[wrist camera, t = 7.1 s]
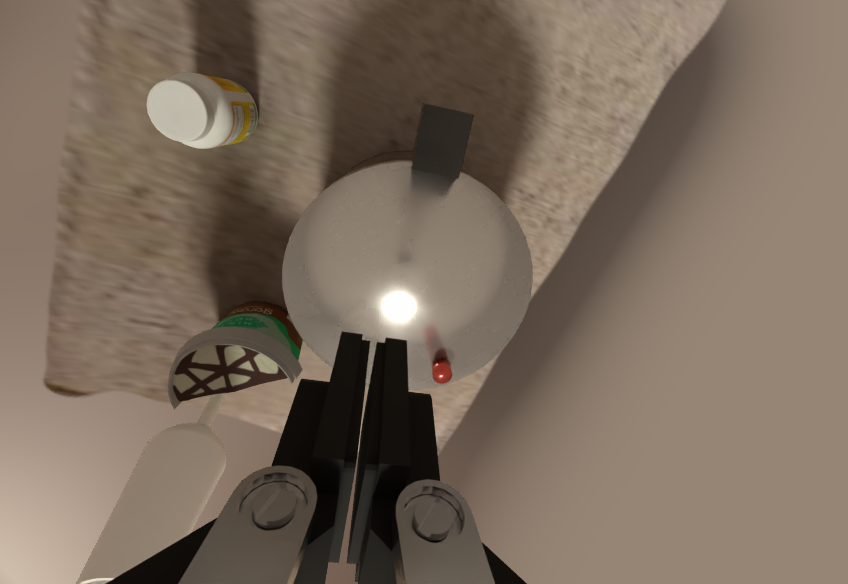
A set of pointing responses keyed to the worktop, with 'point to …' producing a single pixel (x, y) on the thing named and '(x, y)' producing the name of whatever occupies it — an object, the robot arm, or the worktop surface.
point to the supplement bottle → (202, 110)
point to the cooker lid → (411, 260)
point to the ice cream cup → (237, 353)
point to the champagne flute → (160, 497)
